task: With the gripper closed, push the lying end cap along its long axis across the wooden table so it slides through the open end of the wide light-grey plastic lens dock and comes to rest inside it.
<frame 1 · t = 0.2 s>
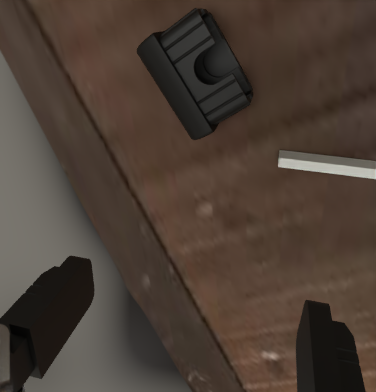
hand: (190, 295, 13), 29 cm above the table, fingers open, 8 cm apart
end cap: (203, 71, 38), on the table
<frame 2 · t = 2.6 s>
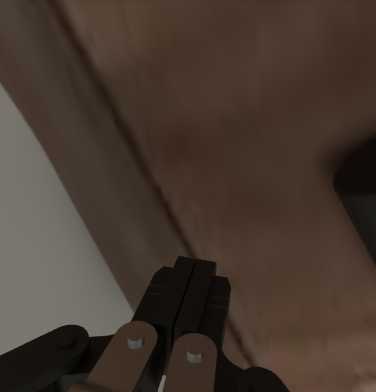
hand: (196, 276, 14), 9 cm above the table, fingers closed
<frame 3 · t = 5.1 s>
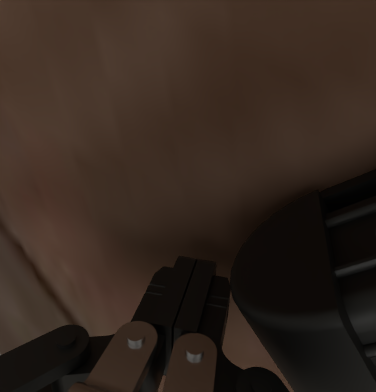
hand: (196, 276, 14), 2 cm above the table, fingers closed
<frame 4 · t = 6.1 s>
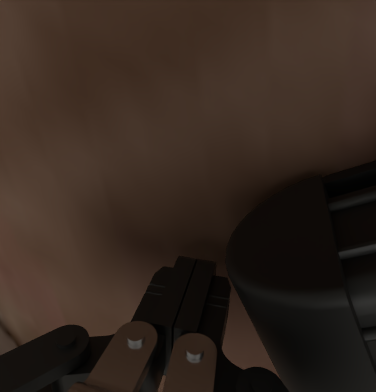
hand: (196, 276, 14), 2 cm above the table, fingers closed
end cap: (369, 268, 14), on the table, touching gripper
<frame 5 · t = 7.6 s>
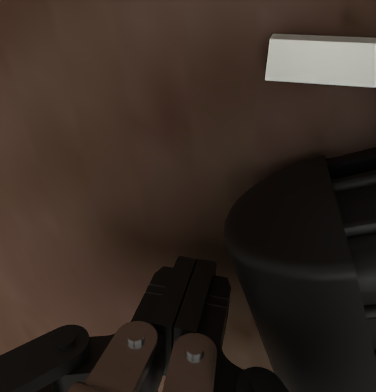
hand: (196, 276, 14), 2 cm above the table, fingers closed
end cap: (361, 257, 14), on the table, touching gripper
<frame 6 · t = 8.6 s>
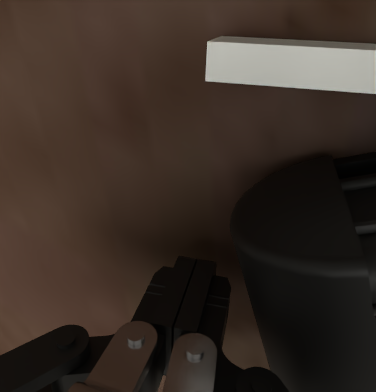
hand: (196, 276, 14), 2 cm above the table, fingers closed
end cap: (358, 259, 14), on the table, touching gripper
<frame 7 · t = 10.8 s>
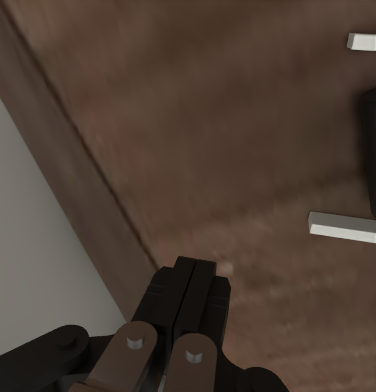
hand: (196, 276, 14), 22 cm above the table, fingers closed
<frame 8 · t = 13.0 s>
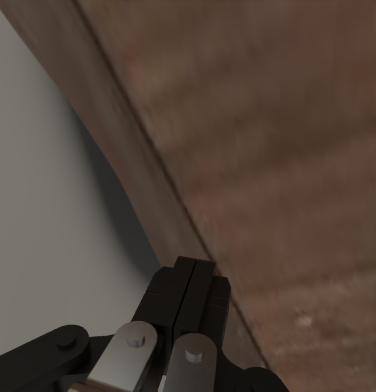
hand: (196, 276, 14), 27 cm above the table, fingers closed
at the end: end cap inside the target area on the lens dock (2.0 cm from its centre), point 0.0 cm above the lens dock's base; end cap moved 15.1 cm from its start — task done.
